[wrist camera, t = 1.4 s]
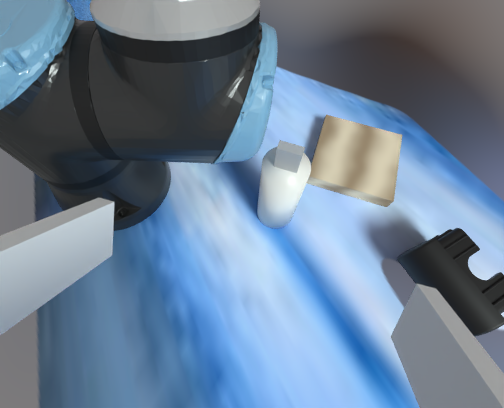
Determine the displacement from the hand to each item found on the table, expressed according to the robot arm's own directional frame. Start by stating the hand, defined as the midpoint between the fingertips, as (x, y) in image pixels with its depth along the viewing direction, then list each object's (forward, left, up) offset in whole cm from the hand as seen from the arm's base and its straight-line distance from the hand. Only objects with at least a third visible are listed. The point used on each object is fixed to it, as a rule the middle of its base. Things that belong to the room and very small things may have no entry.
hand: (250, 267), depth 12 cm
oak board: (+9, +25, -24) cm, 36 cm away
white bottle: (0, +13, -24) cm, 27 cm away
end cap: (+22, +10, -24) cm, 34 cm away
